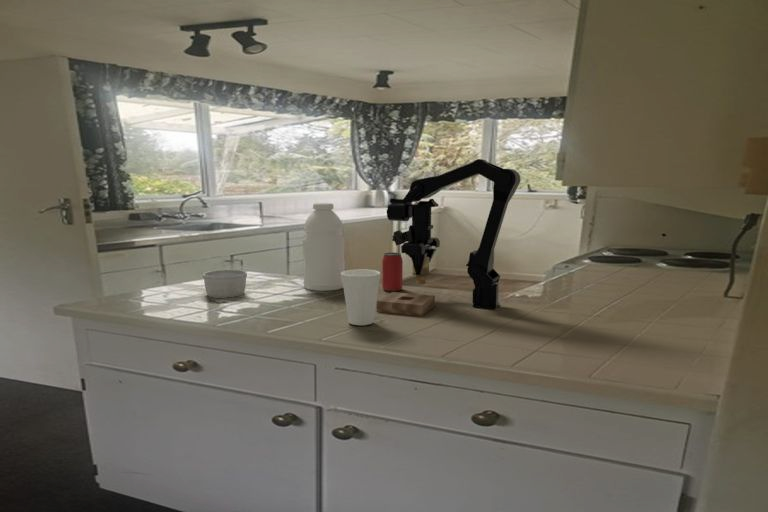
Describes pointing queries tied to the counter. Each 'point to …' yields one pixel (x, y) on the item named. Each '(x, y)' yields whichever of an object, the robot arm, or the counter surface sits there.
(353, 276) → the cup
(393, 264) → the beer can
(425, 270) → the peg
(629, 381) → the counter surface
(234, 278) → the ramekin
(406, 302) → the board
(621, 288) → the counter surface
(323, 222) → the bottle
